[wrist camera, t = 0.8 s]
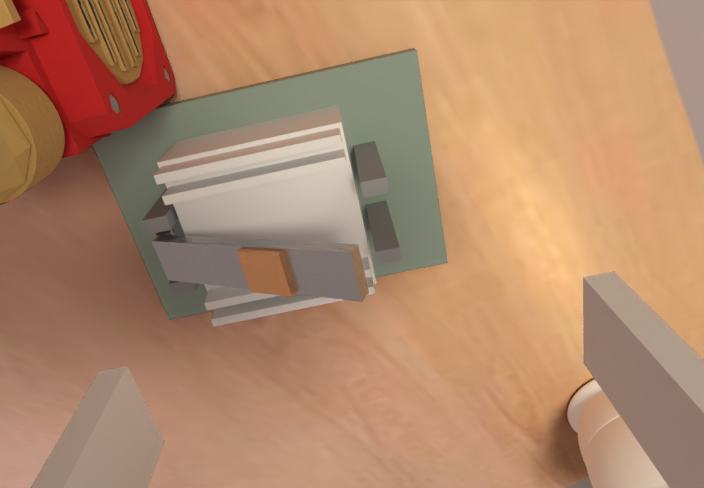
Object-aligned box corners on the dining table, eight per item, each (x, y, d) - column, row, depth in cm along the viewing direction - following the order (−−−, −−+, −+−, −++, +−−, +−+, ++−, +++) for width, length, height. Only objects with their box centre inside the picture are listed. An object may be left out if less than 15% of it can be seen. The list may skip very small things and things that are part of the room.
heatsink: (172, 311, 46) (138, 385, 37) (90, 121, 38) (24, 159, 30) (444, 256, 45) (472, 318, 36) (413, 48, 37) (440, 66, 29)
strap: (181, 268, 37) (158, 285, 35) (163, 225, 36) (139, 240, 34) (376, 286, 30) (359, 308, 28) (364, 232, 28) (345, 253, 26)
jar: (595, 456, 56) (680, 604, 43) (534, 410, 53) (606, 554, 40) (680, 397, 53) (800, 536, 40) (621, 343, 50) (730, 476, 36)
